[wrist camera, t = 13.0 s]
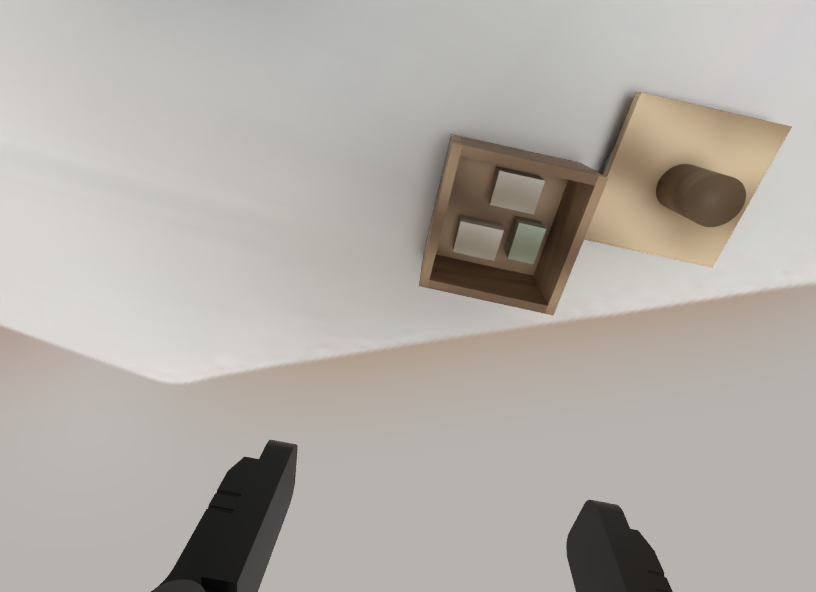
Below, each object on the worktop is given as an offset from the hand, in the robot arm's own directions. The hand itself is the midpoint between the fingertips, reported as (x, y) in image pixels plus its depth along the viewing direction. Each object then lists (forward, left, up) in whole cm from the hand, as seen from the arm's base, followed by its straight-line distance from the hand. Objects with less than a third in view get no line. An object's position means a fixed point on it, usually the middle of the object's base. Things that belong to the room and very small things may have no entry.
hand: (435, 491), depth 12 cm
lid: (-7, +15, -23) cm, 28 cm away
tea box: (-2, +4, -25) cm, 25 cm away
